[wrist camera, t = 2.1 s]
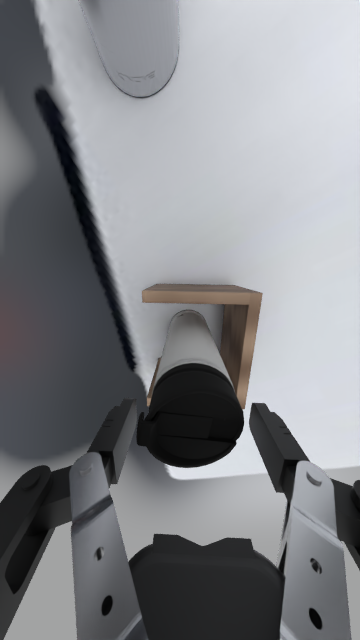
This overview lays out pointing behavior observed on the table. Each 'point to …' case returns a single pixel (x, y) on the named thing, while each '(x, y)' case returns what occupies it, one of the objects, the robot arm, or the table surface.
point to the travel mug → (191, 399)
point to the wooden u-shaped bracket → (236, 324)
